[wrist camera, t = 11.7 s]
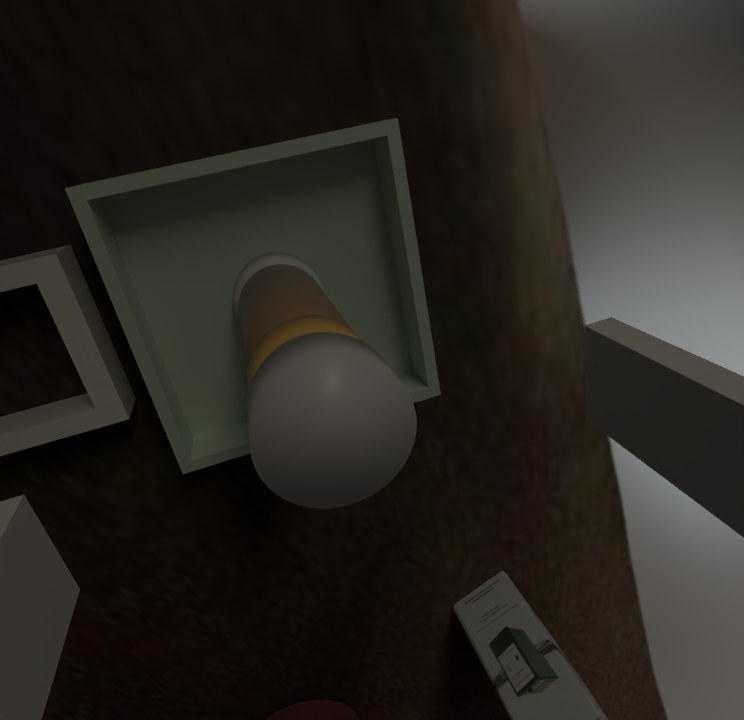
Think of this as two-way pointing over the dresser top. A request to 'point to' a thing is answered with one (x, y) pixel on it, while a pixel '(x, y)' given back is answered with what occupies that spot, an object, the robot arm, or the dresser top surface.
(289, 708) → the plant pot
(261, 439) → the fuse
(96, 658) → the dresser top surface
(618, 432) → the robot arm
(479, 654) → the ink box
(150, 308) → the parts tray
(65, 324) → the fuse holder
